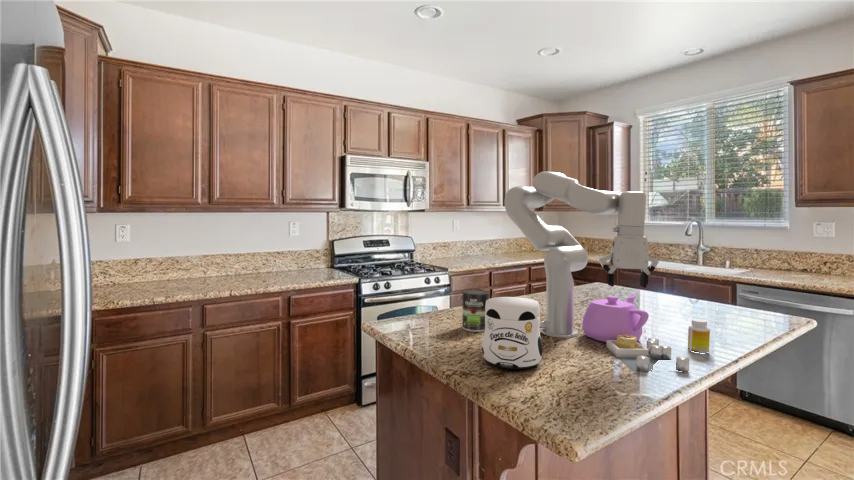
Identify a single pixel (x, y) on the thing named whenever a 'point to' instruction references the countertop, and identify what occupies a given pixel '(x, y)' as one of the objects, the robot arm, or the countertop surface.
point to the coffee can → (474, 309)
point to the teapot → (613, 319)
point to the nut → (626, 341)
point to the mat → (632, 362)
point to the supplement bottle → (698, 336)
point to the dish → (627, 350)
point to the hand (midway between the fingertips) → (626, 286)
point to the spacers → (660, 357)
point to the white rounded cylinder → (512, 333)
